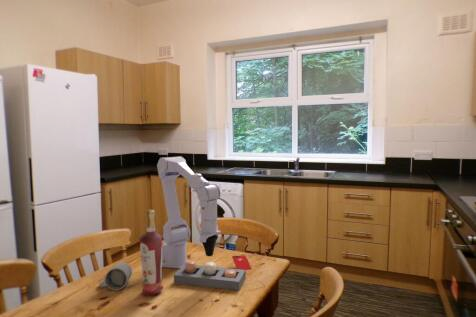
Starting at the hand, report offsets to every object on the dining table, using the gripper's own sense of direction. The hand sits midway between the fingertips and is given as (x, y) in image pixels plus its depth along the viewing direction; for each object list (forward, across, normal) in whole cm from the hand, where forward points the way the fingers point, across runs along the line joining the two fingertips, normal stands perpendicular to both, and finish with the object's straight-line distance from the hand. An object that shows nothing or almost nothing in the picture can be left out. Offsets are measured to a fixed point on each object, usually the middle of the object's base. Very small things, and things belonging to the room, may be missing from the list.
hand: (209, 255), depth 119 cm
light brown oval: (+8, 0, -8) cm, 11 cm away
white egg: (+6, 0, 0) cm, 6 cm away
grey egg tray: (+9, 0, 0) cm, 9 cm away
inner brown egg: (+6, 0, +7) cm, 10 cm away
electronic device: (+10, +19, -8) cm, 23 cm away
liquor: (+10, -13, +16) cm, 23 cm away
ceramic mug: (+10, -11, +31) cm, 34 cm away
